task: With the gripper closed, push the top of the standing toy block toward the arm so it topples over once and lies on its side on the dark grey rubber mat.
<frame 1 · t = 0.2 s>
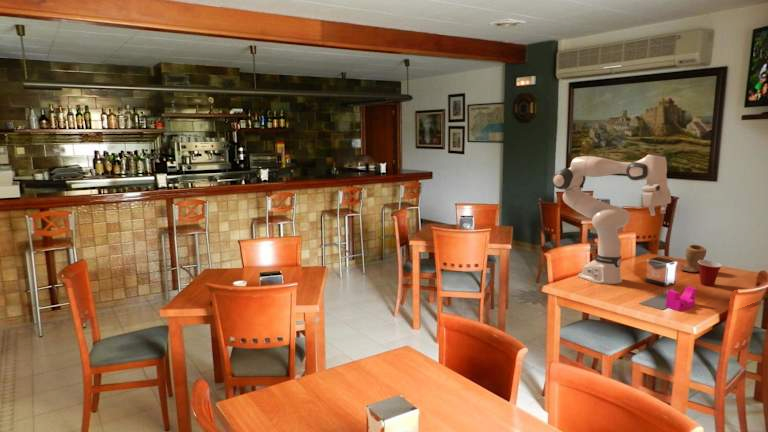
hand: (658, 214, 247), 39 cm above the table, tool pointing down, fingers open, 8 cm apart
stone cup: (693, 271, 288), on the table
rubber mat: (662, 301, 238), on the table
plastic cup: (707, 285, 262), on the table
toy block: (682, 306, 231), on the table, touching rubber mat
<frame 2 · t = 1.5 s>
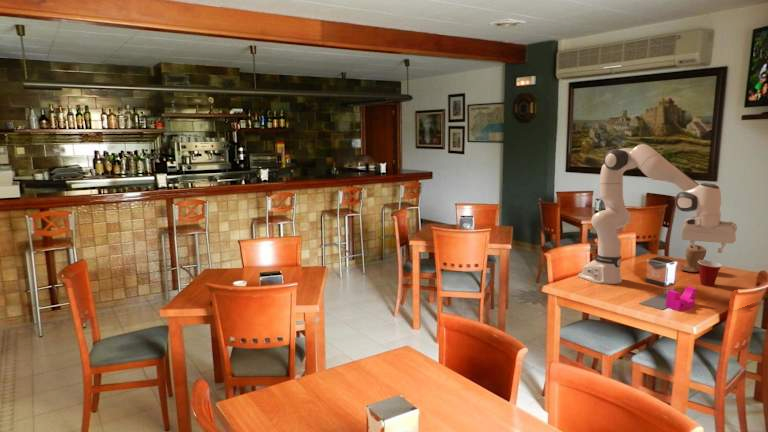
hand: (707, 251, 222), 27 cm above the table, tool pointing down, fingers open, 8 cm apart
nothing on the table moved.
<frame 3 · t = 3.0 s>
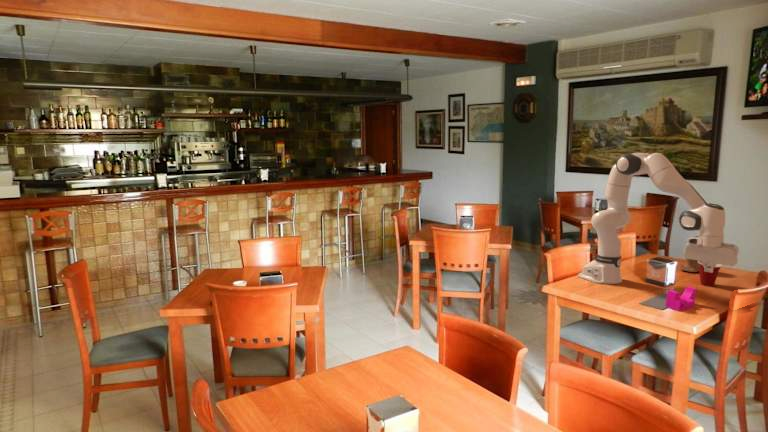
hand: (708, 272, 221), 18 cm above the table, tool pointing down, fingers closed
nothing on the table moved.
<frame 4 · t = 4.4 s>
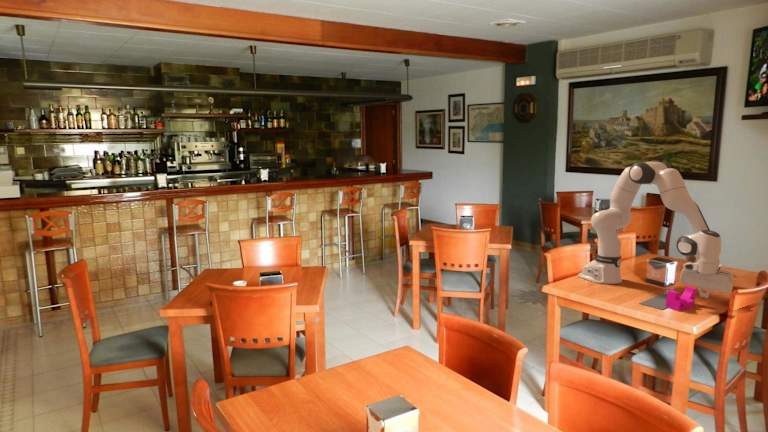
hand: (703, 297, 224), 6 cm above the table, tool pointing down, fingers closed
nothing on the table moved.
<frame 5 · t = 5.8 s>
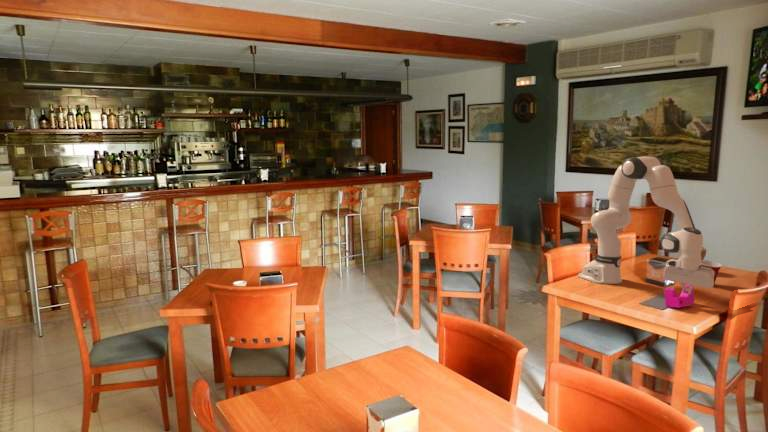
hand: (686, 293, 229), 7 cm above the table, tool pointing down, fingers closed, pressing on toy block
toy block: (682, 305, 231), point 1 cm above the table, touching gripper, rubber mat
everything else where it was.
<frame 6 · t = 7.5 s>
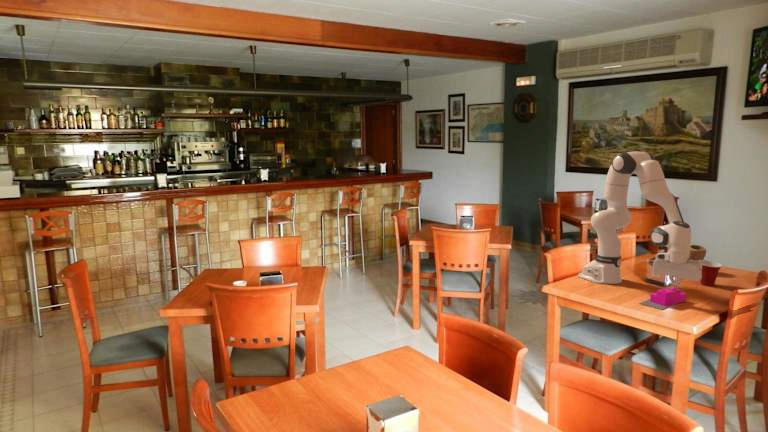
hand: (675, 286, 233), 9 cm above the table, tool pointing down, fingers closed
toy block: (676, 297, 233), point 3 cm above the table, touching rubber mat
everything else where it was.
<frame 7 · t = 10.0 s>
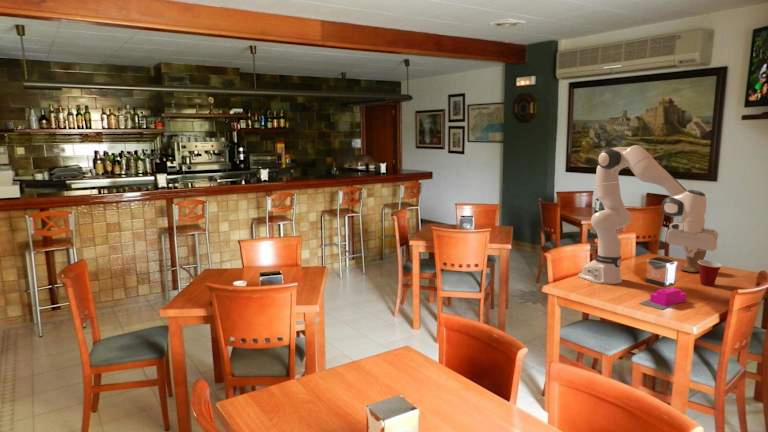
hand: (689, 256, 228), 23 cm above the table, tool pointing down, fingers closed
nothing on the table moved.
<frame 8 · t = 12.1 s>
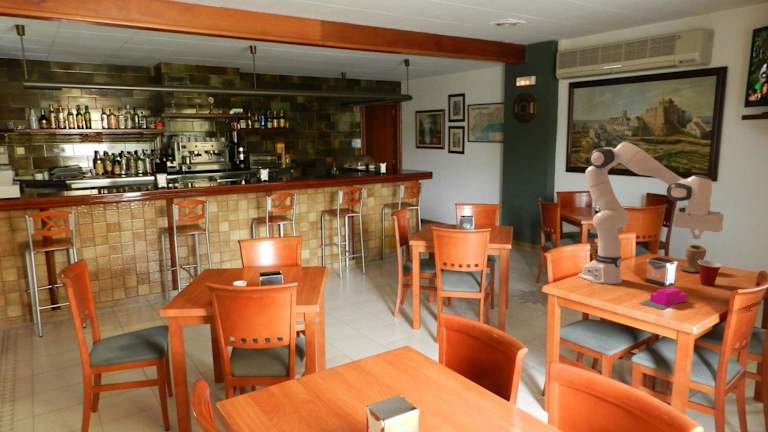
hand: (696, 238, 238), 29 cm above the table, tool pointing down, fingers closed
nothing on the table moved.
at the end: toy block tilted 90°; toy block inside the target area (2.9 cm from its centre), point 3.4 cm above the table; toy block touching rubber mat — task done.
